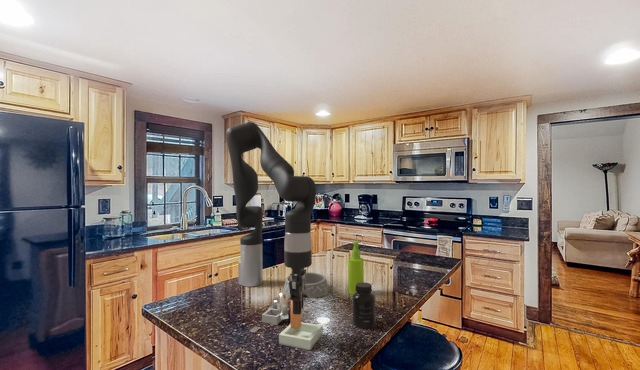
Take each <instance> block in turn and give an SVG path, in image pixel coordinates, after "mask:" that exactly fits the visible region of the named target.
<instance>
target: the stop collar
mask: <svg viewBox="0 0 640 370" xmlns="http://www.w3.org/2000/svg"><path fill="white" fill-rule="evenodd" d="M283 320H284V319H281V318H280V315H279V312H278V309H271V308H270V309H269V310H268V309H267V310H266V311H265V312H264V313H262V314H261V323H265V324H271V325H279V324H280V323H281V322H282V321H283Z"/></svg>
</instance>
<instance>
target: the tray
mask: <svg viewBox="0 0 640 370" xmlns="http://www.w3.org/2000/svg"><path fill="white" fill-rule="evenodd" d="M323 329H324V328H323V325H322V324H314V323H308V322H303V321H301V327H300V328H291V323H289V325H288V326H286V328H284V329H283V330H282V331H281V332H280V333H279V334H278V344H279V345H282V346H288V347H293V348H296V349H301V350H305V351H306V350H307V351H311V350H312V349H313V348H314V346H315V345H316V343H318V341H319V340H320V338H321V337H322V336H323V335H324V334H323V331H324V330H323Z"/></svg>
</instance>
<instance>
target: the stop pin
mask: <svg viewBox="0 0 640 370" xmlns="http://www.w3.org/2000/svg"><path fill="white" fill-rule="evenodd" d="M300 288H301V287H300ZM295 296H298V295H297V294H295ZM302 310H303V309H302V299H301V314H293V300H291V299H290V324H291V328H300V327H301V322H302V319H303V318H302V313H303V311H302Z"/></svg>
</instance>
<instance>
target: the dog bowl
mask: <svg viewBox="0 0 640 370" xmlns="http://www.w3.org/2000/svg"><path fill="white" fill-rule="evenodd" d="M289 281H291V280H290V275H288V276H286V278H285V282H284V286H283V289H282V292H287V293H288V297H290V288H289ZM304 292H305V293H304V295H303V296H307V298H308V299H315V298H320V297H323V296H325V295H327V294H328V293H329V286H328V282H327V277H326V276H325V275H323V274H320V273H317V272H309V271H308V272H307V271H306V285H305V290H304Z"/></svg>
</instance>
